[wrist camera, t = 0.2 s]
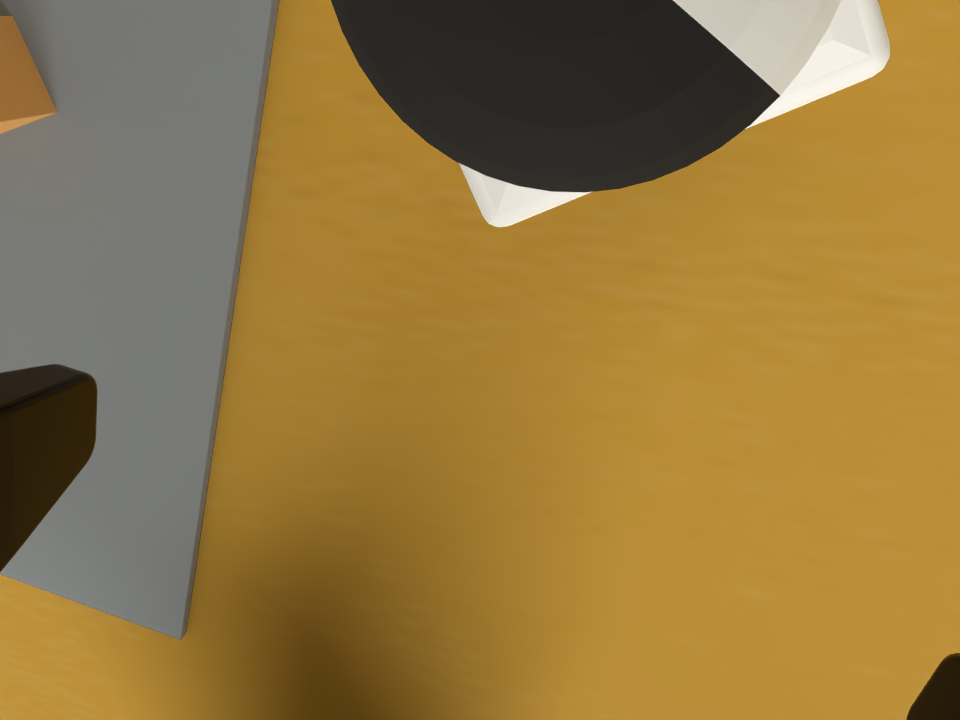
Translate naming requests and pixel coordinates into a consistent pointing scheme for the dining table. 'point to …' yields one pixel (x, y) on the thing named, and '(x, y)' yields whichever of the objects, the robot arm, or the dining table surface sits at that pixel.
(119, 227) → the mat
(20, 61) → the orange block
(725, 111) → the medicine bottle
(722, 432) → the dining table surface
